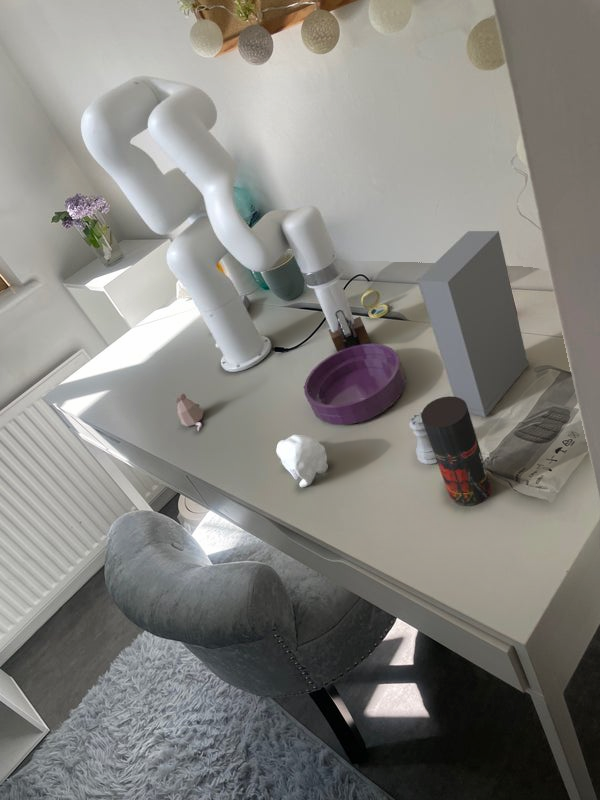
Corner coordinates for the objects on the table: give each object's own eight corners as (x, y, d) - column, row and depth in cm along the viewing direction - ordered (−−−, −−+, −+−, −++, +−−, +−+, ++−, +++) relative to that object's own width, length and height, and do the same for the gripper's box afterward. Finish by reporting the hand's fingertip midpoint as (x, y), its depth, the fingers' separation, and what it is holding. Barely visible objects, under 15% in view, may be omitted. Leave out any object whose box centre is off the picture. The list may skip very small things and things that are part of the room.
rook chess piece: (440, 467, 92) (426, 429, 88) (413, 464, 95) (398, 426, 91) (450, 446, 95) (437, 408, 91) (423, 444, 98) (410, 406, 93)
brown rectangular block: (340, 360, 127) (331, 338, 124) (337, 350, 130) (328, 329, 127) (372, 346, 126) (363, 324, 123) (368, 337, 129) (360, 316, 126)
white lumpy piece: (287, 457, 94) (254, 435, 104) (310, 496, 98) (276, 471, 108) (319, 432, 96) (282, 413, 106) (340, 472, 100) (303, 449, 110)
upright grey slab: (496, 359, 107) (464, 230, 93) (529, 365, 103) (500, 230, 89) (453, 410, 101) (411, 280, 88) (485, 418, 97) (447, 282, 83)
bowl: (295, 416, 117) (285, 396, 114) (351, 358, 125) (343, 338, 123) (368, 437, 104) (358, 415, 101) (425, 371, 112) (418, 349, 110)
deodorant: (443, 483, 90) (416, 406, 82) (482, 469, 89) (459, 390, 81) (456, 511, 85) (428, 433, 77) (497, 497, 84) (473, 416, 76)
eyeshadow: (374, 320, 133) (367, 301, 131) (364, 313, 138) (357, 294, 135) (391, 310, 134) (385, 291, 131) (381, 303, 138) (374, 285, 135)
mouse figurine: (188, 437, 126) (172, 413, 122) (180, 419, 132) (165, 396, 129) (210, 425, 126) (194, 400, 123) (201, 407, 133) (187, 384, 129)
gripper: (299, 263, 125) (330, 336, 135) (309, 296, 111) (344, 374, 121) (333, 248, 124) (362, 322, 134) (348, 280, 110) (379, 360, 120)
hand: (353, 346), depth 127 cm, fingers closed on brown rectangular block, 4 cm apart
